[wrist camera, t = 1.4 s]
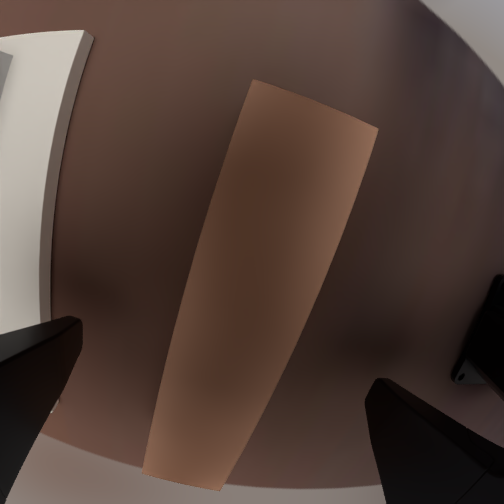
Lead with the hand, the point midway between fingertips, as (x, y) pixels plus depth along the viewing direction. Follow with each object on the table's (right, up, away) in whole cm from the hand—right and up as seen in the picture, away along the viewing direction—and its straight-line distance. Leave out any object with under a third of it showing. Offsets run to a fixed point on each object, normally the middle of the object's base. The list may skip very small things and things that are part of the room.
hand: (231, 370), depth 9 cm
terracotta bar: (0, +1, +4) cm, 5 cm away
